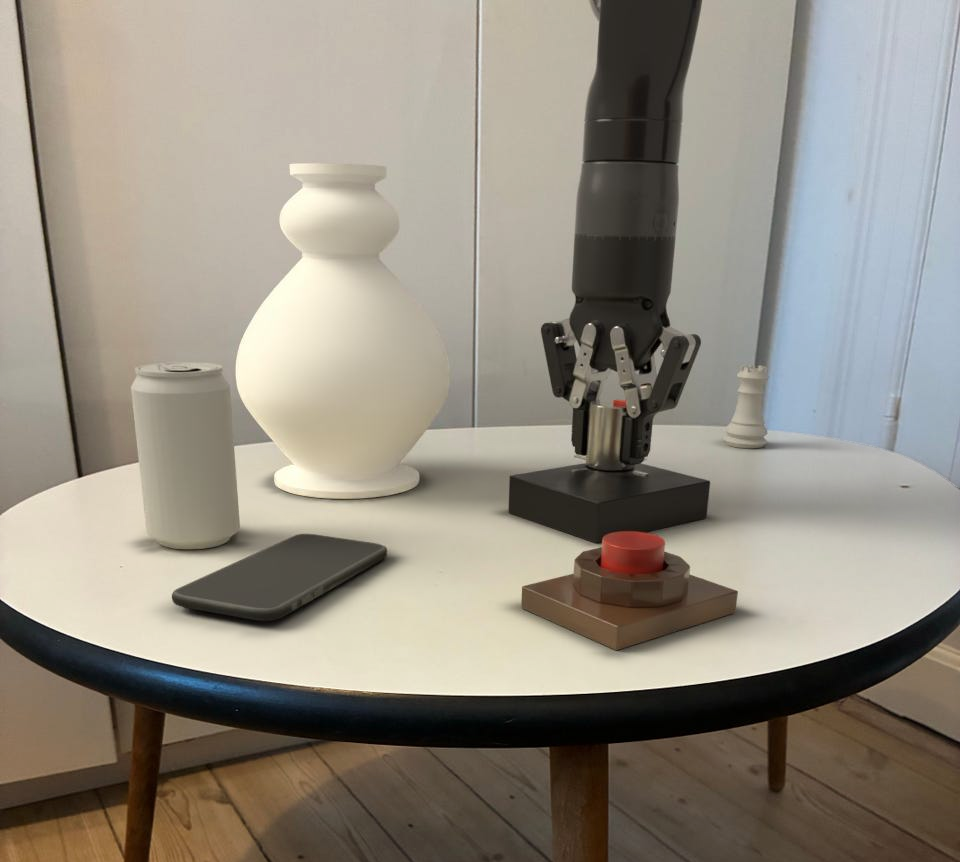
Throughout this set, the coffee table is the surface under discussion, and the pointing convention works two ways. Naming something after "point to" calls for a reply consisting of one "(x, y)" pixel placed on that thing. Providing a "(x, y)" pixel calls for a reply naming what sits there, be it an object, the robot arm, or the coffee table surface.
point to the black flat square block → (607, 499)
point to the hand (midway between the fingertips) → (608, 457)
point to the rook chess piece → (748, 410)
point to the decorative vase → (342, 345)
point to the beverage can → (186, 453)
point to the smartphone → (280, 577)
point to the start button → (632, 552)
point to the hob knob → (606, 435)
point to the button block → (627, 601)
